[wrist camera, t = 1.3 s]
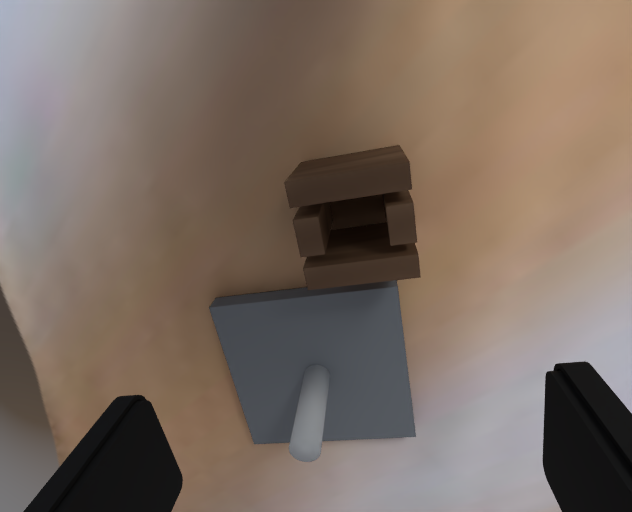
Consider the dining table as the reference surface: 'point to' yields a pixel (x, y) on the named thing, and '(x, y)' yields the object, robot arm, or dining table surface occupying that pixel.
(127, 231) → the dining table surface
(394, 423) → the stand
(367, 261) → the wooden block stack
